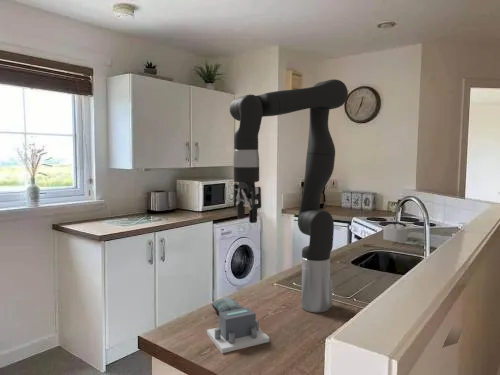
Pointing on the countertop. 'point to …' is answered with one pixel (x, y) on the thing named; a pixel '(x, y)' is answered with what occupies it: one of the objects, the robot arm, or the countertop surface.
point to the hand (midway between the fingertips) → (246, 220)
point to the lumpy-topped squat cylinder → (395, 232)
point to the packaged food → (226, 305)
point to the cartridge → (237, 322)
